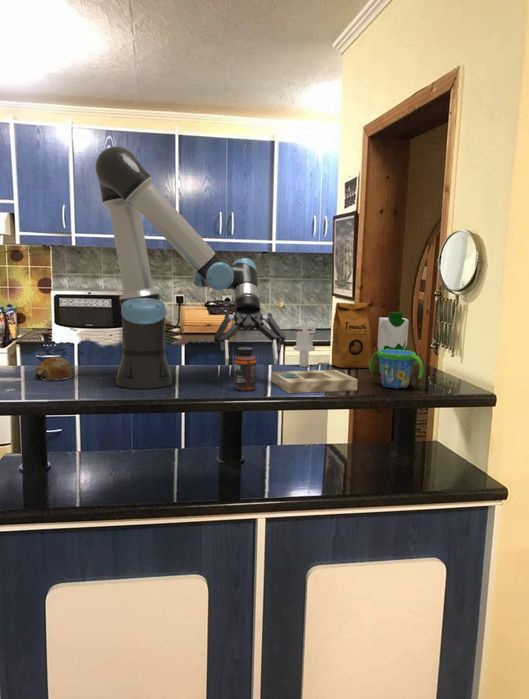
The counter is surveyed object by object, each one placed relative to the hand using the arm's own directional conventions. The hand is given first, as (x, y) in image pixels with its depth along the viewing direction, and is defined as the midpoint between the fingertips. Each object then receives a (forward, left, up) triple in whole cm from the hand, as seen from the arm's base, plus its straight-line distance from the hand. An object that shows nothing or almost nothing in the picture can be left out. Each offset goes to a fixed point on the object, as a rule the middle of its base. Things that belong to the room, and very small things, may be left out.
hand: (251, 361), depth 158 cm
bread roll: (-53, +23, -8) cm, 58 cm away
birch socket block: (+18, -2, -7) cm, 19 cm away
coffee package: (+42, +25, -7) cm, 49 cm away
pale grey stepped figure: (+27, +30, -7) cm, 41 cm away
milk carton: (+49, +10, -7) cm, 50 cm away
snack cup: (+41, -7, -7) cm, 42 cm away
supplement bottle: (-2, -2, -7) cm, 8 cm away
